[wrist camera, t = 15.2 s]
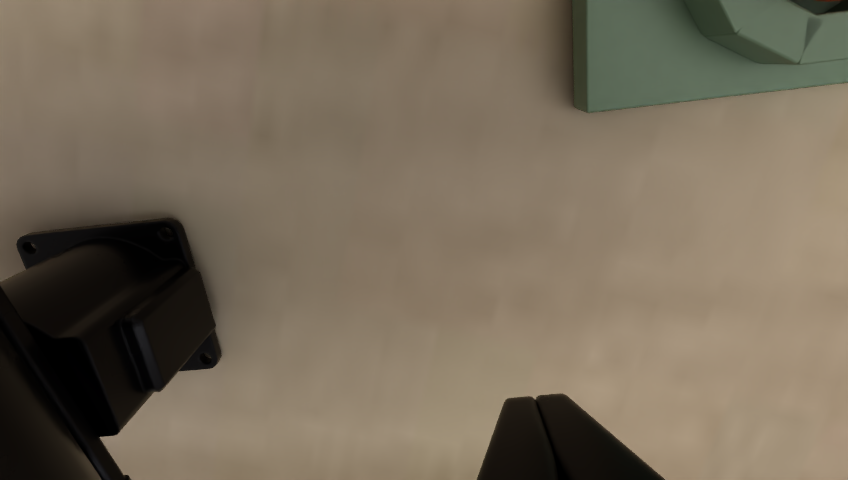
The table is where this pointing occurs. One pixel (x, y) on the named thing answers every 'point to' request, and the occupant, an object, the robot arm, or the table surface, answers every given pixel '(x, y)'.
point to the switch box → (703, 49)
